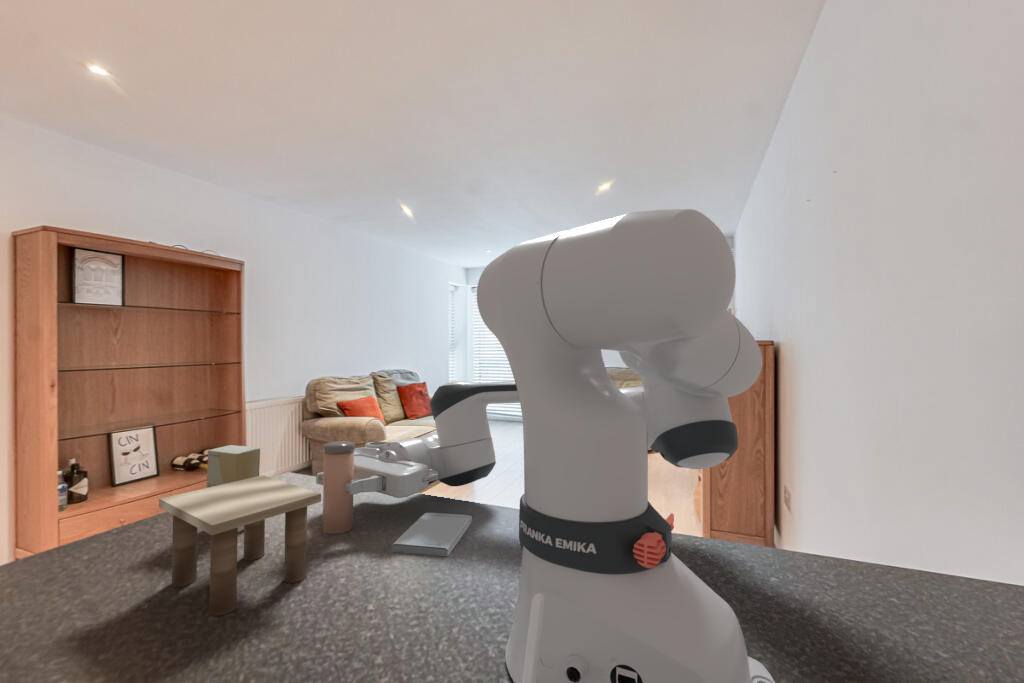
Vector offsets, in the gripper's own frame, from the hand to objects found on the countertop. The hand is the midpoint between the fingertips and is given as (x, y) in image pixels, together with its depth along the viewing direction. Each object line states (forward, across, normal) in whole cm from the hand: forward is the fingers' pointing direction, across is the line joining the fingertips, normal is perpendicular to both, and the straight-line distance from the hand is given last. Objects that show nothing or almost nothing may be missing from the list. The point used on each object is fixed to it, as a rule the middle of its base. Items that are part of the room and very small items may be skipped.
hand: (333, 484), depth 68 cm
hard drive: (-8, -14, -8) cm, 18 cm away
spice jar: (-1, 0, -7) cm, 7 cm away
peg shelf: (+15, -4, -7) cm, 17 cm away
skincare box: (+8, +14, -7) cm, 18 cm away
